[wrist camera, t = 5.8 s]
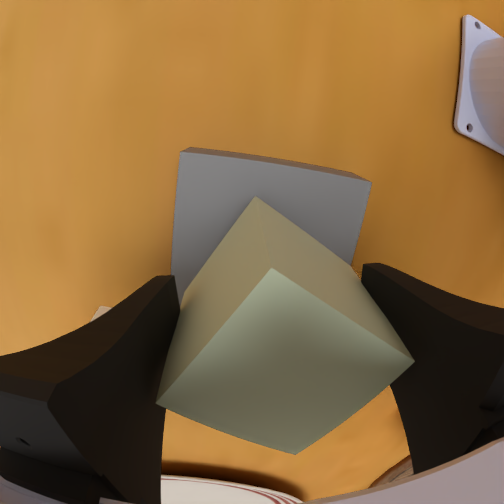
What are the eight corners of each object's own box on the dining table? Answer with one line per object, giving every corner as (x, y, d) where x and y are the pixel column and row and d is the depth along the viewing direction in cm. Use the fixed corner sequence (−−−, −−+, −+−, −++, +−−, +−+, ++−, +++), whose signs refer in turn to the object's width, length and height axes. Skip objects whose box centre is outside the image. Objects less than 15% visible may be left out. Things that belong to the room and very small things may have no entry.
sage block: (350, 265, 12) (414, 361, 7) (277, 344, 13) (295, 454, 8) (255, 195, 11) (271, 267, 6) (184, 291, 12) (155, 403, 7)
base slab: (349, 171, 15) (371, 182, 13) (315, 305, 18) (327, 336, 16) (191, 146, 14) (180, 151, 12) (178, 291, 18) (169, 321, 15)
